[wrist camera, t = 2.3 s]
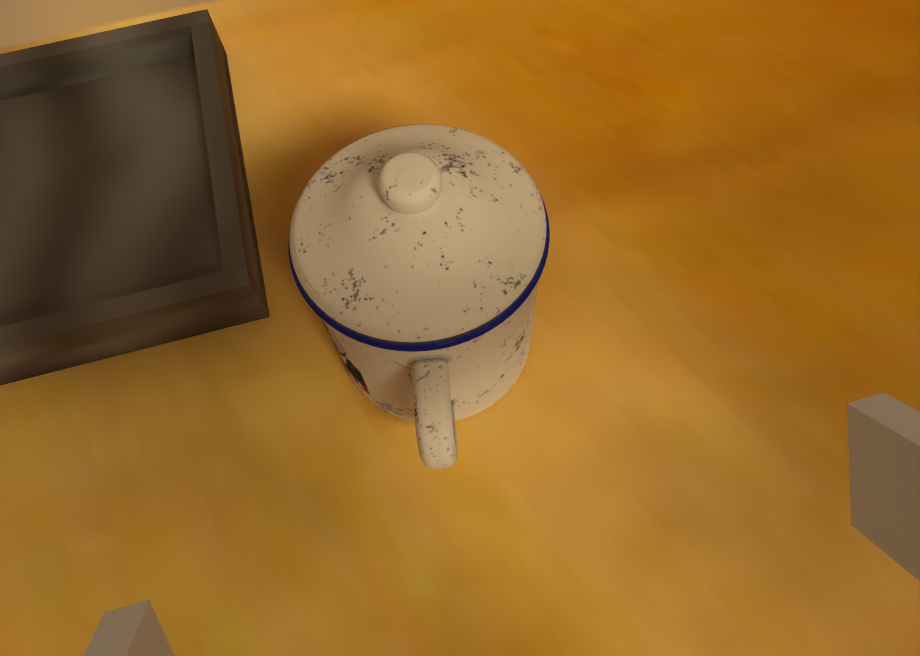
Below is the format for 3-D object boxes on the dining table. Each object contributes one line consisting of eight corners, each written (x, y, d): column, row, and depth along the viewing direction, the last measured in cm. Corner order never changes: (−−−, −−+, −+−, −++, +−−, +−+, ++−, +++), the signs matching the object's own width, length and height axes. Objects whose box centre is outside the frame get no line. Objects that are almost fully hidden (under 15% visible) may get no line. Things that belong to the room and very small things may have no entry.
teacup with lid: (337, 261, 34) (267, 77, 23) (523, 243, 34) (536, 52, 23) (337, 509, 28) (247, 416, 18) (558, 489, 28) (596, 384, 18)
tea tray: (-126, 417, 31) (-185, 393, 28) (-91, 123, 39) (-134, 83, 36) (269, 316, 32) (249, 284, 30) (226, 53, 40) (207, 9, 38)
